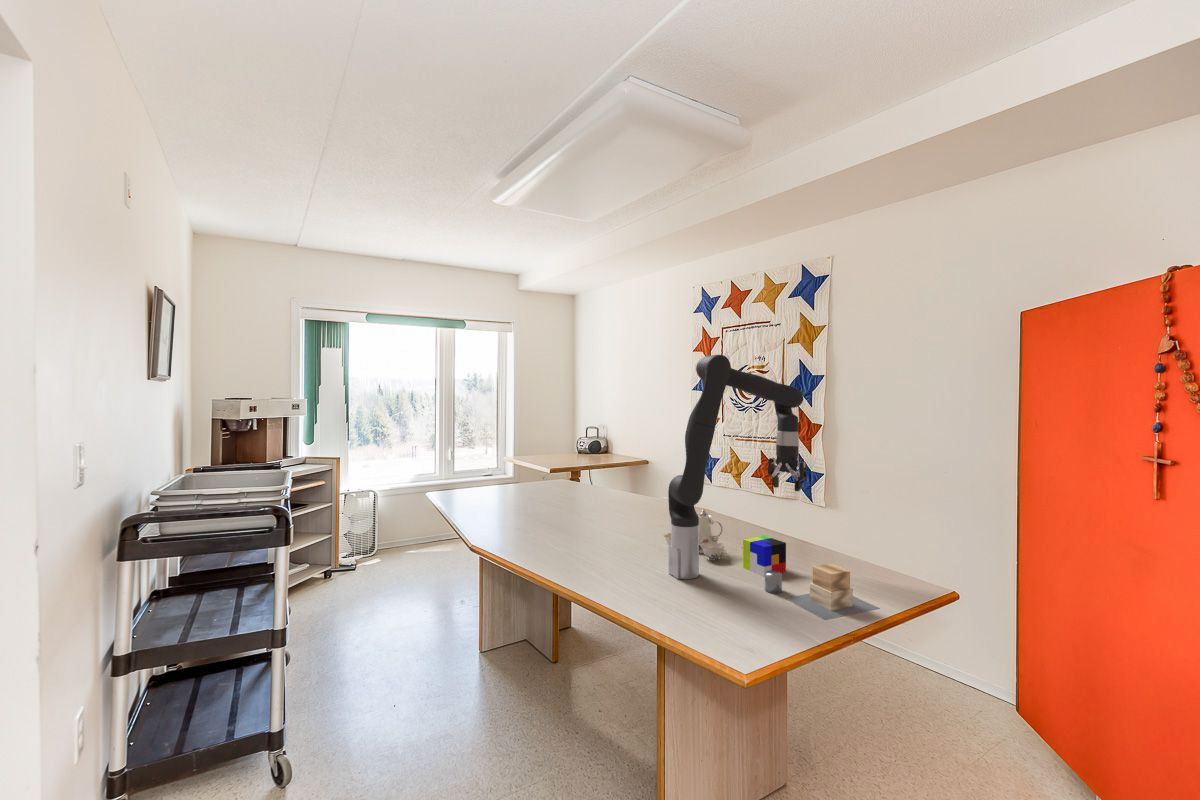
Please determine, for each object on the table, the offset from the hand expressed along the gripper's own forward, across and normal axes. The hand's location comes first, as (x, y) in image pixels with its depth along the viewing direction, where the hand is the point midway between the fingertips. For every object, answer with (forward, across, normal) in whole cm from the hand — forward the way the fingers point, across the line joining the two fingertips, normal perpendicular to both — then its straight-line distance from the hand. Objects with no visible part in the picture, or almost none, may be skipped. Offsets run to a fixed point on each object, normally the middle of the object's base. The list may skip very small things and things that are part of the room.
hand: (786, 489), depth 191 cm
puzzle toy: (+27, -1, -11) cm, 29 cm away
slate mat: (+27, +29, -22) cm, 45 cm away
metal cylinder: (+27, +13, -26) cm, 40 cm away
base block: (+26, +29, -22) cm, 45 cm away
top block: (+21, +29, -22) cm, 42 cm away
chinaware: (+28, -29, -14) cm, 42 cm away
